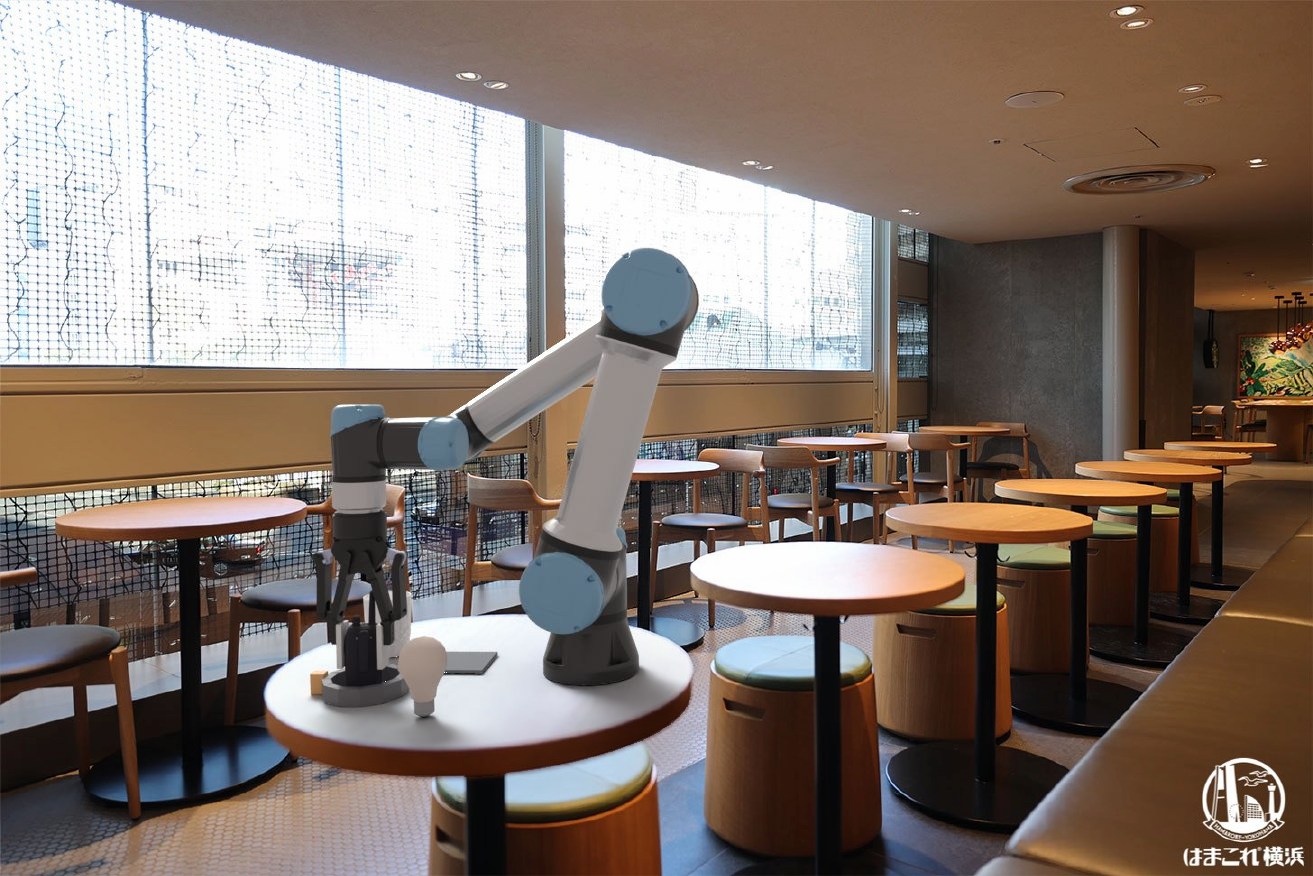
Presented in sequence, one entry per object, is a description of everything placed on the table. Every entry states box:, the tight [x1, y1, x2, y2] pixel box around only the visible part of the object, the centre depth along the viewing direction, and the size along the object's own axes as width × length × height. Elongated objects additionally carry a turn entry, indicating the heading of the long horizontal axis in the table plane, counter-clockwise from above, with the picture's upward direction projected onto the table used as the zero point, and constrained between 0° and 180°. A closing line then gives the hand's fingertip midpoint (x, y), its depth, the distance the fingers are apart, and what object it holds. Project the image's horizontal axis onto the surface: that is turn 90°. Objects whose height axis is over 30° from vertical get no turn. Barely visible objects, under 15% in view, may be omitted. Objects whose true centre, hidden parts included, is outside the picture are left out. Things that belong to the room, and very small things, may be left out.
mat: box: [445, 651, 498, 675], centre depth 142 cm, size 10×10×1 cm
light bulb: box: [397, 635, 448, 718], centre depth 119 cm, size 7×7×11 cm
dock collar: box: [309, 663, 410, 708], centre depth 129 cm, size 14×12×3 cm
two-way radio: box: [344, 589, 383, 687], centre depth 129 cm, size 6×4×15 cm
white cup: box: [362, 590, 413, 659], centre depth 149 cm, size 8×8×10 cm
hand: (363, 666), depth 129 cm, fingers closed on two-way radio, 5 cm apart
